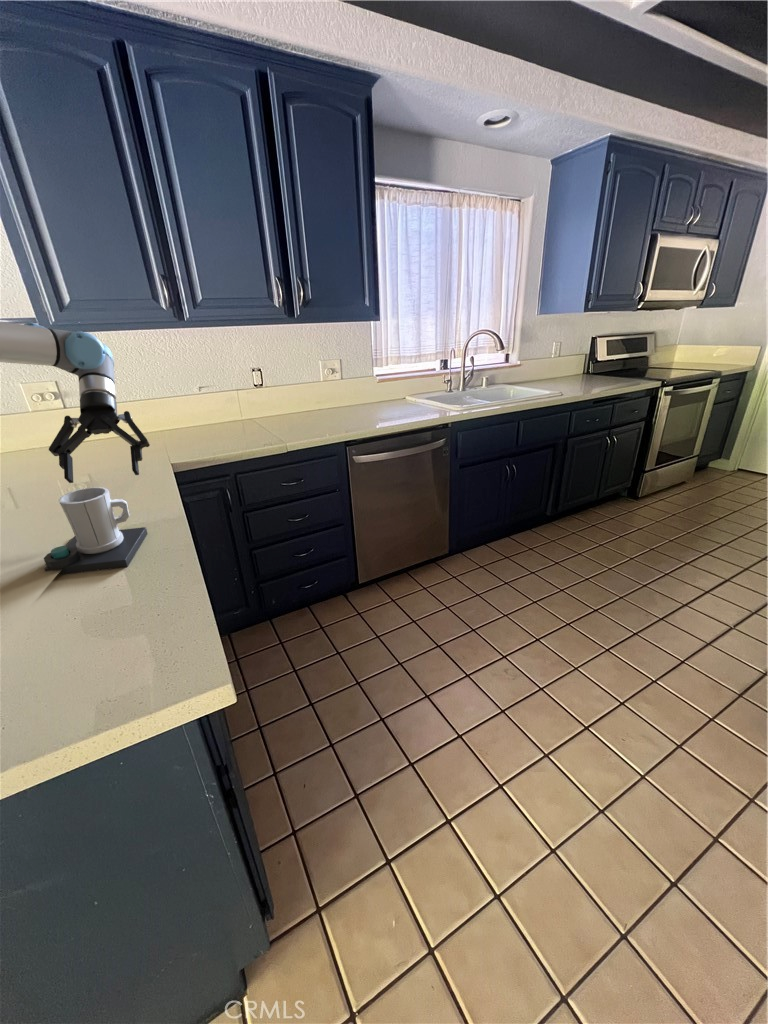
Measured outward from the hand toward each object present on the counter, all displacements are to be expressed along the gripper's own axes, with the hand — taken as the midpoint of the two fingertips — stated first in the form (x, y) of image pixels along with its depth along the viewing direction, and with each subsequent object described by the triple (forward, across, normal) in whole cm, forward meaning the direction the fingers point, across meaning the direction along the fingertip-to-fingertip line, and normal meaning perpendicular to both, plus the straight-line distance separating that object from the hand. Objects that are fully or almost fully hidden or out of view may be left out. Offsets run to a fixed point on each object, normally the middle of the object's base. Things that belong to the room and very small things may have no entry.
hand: (103, 476), depth 99 cm
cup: (+16, +1, -1) cm, 16 cm away
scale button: (+19, +7, +4) cm, 21 cm away
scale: (+18, +2, -2) cm, 18 cm away
